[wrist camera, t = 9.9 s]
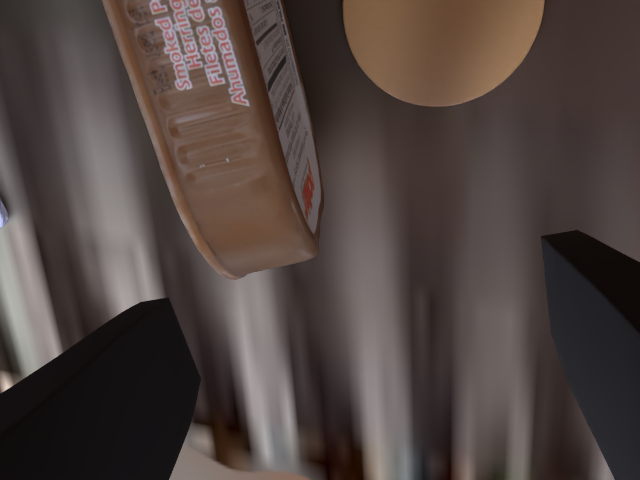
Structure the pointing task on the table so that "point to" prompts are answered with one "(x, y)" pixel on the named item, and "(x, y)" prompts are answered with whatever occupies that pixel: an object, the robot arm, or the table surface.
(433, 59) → the cork coaster
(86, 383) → the robot arm
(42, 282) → the table surface
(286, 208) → the tin
